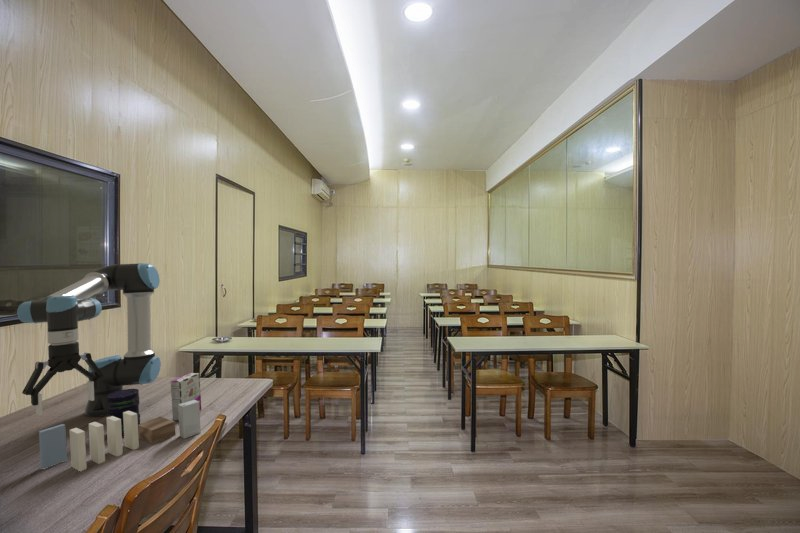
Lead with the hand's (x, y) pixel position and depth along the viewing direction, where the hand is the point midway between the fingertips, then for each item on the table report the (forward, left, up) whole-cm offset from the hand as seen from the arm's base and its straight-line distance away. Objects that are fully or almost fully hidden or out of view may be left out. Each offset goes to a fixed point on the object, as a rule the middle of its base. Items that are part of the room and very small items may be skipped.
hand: (66, 407), depth 124 cm
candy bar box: (0, +40, -18) cm, 44 cm away
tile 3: (+9, +10, -18) cm, 22 cm away
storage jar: (-7, +20, -18) cm, 28 cm away
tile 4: (+9, +15, -18) cm, 25 cm away
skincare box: (+19, +30, -18) cm, 39 cm away
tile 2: (+9, +5, -18) cm, 20 cm away
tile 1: (+9, 0, -18) cm, 20 cm away
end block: (+9, +23, -18) cm, 30 cm away
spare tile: (-1, -3, -18) cm, 18 cm away
